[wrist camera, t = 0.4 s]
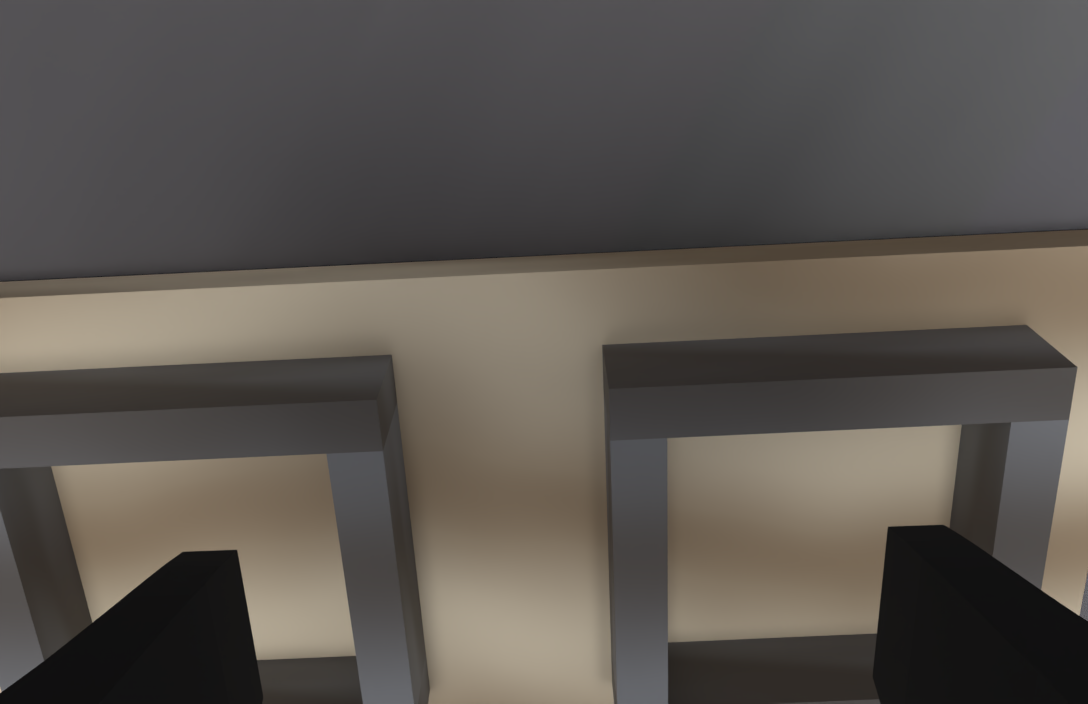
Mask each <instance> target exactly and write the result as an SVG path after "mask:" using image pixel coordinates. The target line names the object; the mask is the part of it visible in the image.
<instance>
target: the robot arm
mask: <svg viewBox="0 0 1088 704" xmlns="http://www.w3.org/2000/svg"><path fill="white" fill-rule="evenodd" d="M872 677H873V680H874V684H875V687H876V690H877V694H878V697H879V700H880V704H1088V621H1086V620H1085V619H1083V618H1082V617H1080V616H1079V615H1077V614H1076V613H1074V612H1073V611H1071V610H1070V609H1068V608H1067V607H1065V606H1064V605H1062V604H1061V603H1059V602H1058V601H1056V600H1055V599H1054V598H1052V597H1051V596H1049V595H1048V594H1046V593H1045V592H1043V591H1042V590H1040V589H1039V588H1037V587H1036V586H1035V585H1033V584H1032V583H1030V582H1029V581H1027V580H1026V579H1024V578H1023V577H1022V576H1020V575H1019V574H1017V573H1016V572H1014V571H1013V570H1011V569H1010V568H1009V567H1007V566H1006V565H1004V564H1003V563H1001V562H1000V561H998V560H997V559H996V558H994V557H993V556H991V555H990V554H988V553H987V552H985V551H984V550H982V549H981V548H979V547H978V546H977V545H975V544H974V543H972V542H971V541H969V540H968V539H966V538H964V537H963V536H961V535H960V534H958V533H957V532H955V531H953V530H952V529H950V528H948V527H947V526H945V525H919V526H891V527H888V530H887V540H886V550H885V559H884V569H883V579H882V588H881V598H880V608H879V618H878V627H877V637H876V647H875V656H874V666H873V676H872ZM262 702H263V692H262V686H261V680H260V675H259V669H258V664H257V658H256V652H255V647H254V641H253V636H252V630H251V624H250V619H249V613H248V607H247V602H246V596H245V591H244V585H243V579H242V574H241V568H240V563H239V557H238V551H237V550H215V551H187V552H182V553H180V554H179V555H177V556H176V557H175V558H173V559H172V560H170V561H169V562H168V563H166V564H165V565H164V566H162V567H161V568H160V569H158V570H157V571H156V572H155V573H153V574H152V575H151V576H150V577H148V578H147V579H146V580H145V581H143V582H142V583H141V584H140V585H138V586H137V587H136V588H135V589H133V590H132V591H131V592H130V593H129V594H127V595H126V596H125V597H124V598H122V599H121V600H120V601H119V602H117V603H116V604H115V605H114V606H113V607H111V608H110V609H109V610H108V611H106V612H105V613H104V614H103V615H101V616H100V617H99V618H98V619H96V620H95V621H94V622H93V623H91V624H90V625H89V626H88V627H86V628H85V629H84V630H83V631H81V632H80V633H79V634H78V635H76V636H75V637H74V638H72V639H71V640H70V641H69V642H67V643H66V644H65V645H64V646H62V647H61V648H60V649H59V650H57V651H56V652H55V653H54V654H52V655H51V656H50V657H49V658H47V659H46V660H45V661H43V662H42V663H41V664H39V665H38V666H37V667H35V668H34V669H32V670H31V671H30V672H28V673H27V674H26V675H24V676H23V677H21V678H20V679H19V680H17V681H16V682H15V683H13V684H12V685H11V686H9V687H8V688H6V689H5V690H4V691H2V692H1V693H0V704H262Z"/></svg>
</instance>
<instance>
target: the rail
mask: <svg viewBox="0 0 1088 704" xmlns="http://www.w3.org/2000/svg"><path fill="white" fill-rule="evenodd" d="M919 525H945V526H947V527H948V528H950V529H952V530H953V531H955V532H957V533H958V534H960V535H961V536H963V537H964V538H966V539H968V540H969V541H971V542H972V543H974V544H975V545H977V546H978V547H979V548H981V549H982V550H984V551H985V552H987V553H988V554H990V555H991V556H993V557H994V558H996V559H997V560H998V561H1000V562H1001V563H1003V564H1004V565H1006V566H1007V567H1009V568H1010V569H1011V570H1013V571H1014V572H1016V573H1017V574H1019V575H1020V576H1022V577H1023V578H1024V579H1026V580H1027V581H1029V582H1030V583H1032V584H1033V585H1035V586H1036V587H1037V588H1039V589H1040V590H1042V591H1043V592H1045V593H1046V594H1048V595H1049V596H1051V597H1052V598H1054V599H1055V600H1056V601H1058V602H1059V603H1061V604H1062V605H1064V606H1065V607H1067V608H1068V609H1070V610H1071V611H1073V612H1074V613H1076V614H1077V615H1080V610H1081V604H1082V599H1083V593H1084V588H1085V583H1086V577H1087V572H1088V229H1087V230H1066V231H1045V232H1025V233H1004V234H983V235H962V236H942V237H921V238H900V239H879V240H859V241H838V242H817V243H797V244H776V245H755V246H734V247H714V248H693V249H672V250H651V251H631V252H610V253H589V254H568V255H548V256H527V257H506V258H486V259H465V260H444V261H423V262H403V263H382V264H361V265H340V266H320V267H299V268H278V269H257V270H237V271H216V272H195V273H174V274H154V275H133V276H112V277H92V278H71V279H50V280H29V281H9V282H0V693H1V692H2V691H4V690H5V689H6V688H8V687H9V686H11V685H12V684H13V683H15V682H16V681H17V680H19V679H20V678H21V677H23V676H24V675H26V674H27V673H28V672H30V671H31V670H32V669H34V668H35V667H37V666H38V665H39V664H41V663H42V662H43V661H45V660H46V659H47V658H49V657H50V656H51V655H52V654H54V653H55V652H56V651H57V650H59V649H60V648H61V647H62V646H64V645H65V644H66V643H67V642H69V641H70V640H71V639H72V638H74V637H75V636H76V635H78V634H79V633H80V632H81V631H83V630H84V629H85V628H86V627H88V626H89V625H90V624H91V623H93V622H94V621H95V620H96V619H98V618H99V617H100V616H101V615H103V614H104V613H105V612H106V611H108V610H109V609H110V608H111V607H113V606H114V605H115V604H116V603H117V602H119V601H120V600H121V599H122V598H124V597H125V596H126V595H127V594H129V593H130V592H131V591H132V590H133V589H135V588H136V587H137V586H138V585H140V584H141V583H142V582H143V581H145V580H146V579H147V578H148V577H150V576H151V575H152V574H153V573H155V572H156V571H157V570H158V569H160V568H161V567H162V566H164V565H165V564H166V563H168V562H169V561H170V560H172V559H173V558H175V557H176V556H177V555H179V554H180V553H182V552H187V551H215V550H237V551H238V557H239V563H240V568H241V574H242V579H243V585H244V591H245V596H246V602H247V607H248V613H249V619H250V624H251V630H252V636H253V641H254V647H255V652H256V658H257V664H258V669H259V675H260V680H261V686H262V692H263V702H262V704H880V700H879V697H878V694H877V690H876V687H875V684H874V680H873V677H872V676H873V666H874V656H875V647H876V637H877V627H878V618H879V608H880V598H881V588H882V579H883V569H884V559H885V550H886V540H887V530H888V527H891V526H919Z"/></svg>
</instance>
